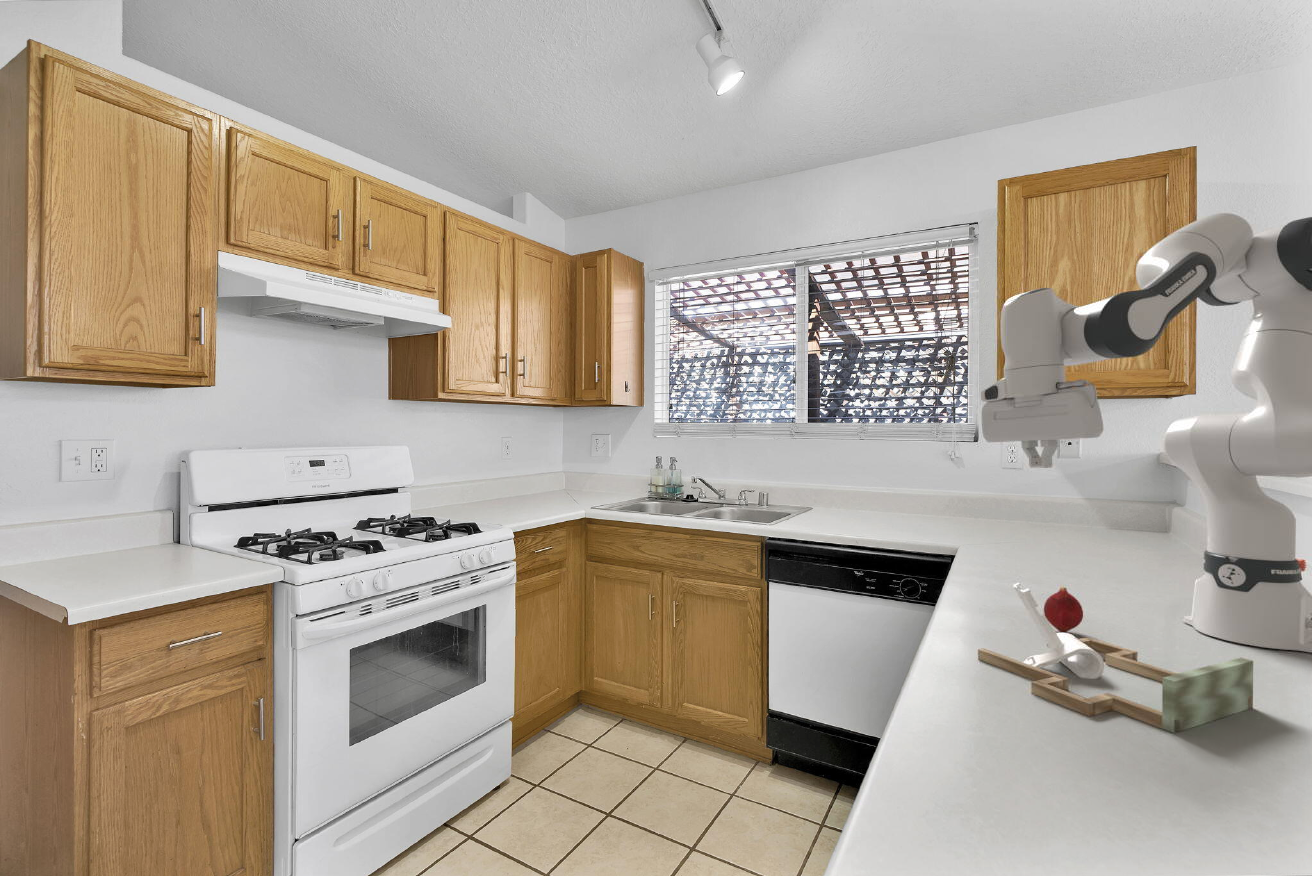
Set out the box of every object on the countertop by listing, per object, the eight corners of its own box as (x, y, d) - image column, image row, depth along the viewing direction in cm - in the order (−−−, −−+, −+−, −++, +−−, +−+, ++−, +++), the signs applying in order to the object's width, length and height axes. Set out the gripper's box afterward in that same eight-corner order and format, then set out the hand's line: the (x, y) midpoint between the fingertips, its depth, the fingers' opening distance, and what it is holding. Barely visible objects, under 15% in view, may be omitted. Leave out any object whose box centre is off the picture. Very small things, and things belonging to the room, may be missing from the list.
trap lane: (1069, 641, 104) (1070, 605, 104) (1271, 701, 80) (1271, 655, 80) (956, 663, 93) (956, 623, 93) (1150, 740, 70) (1151, 687, 70)
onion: (1089, 639, 105) (1089, 592, 105) (1052, 636, 106) (1052, 590, 106) (1073, 628, 111) (1074, 584, 111) (1038, 626, 112) (1038, 582, 112)
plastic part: (1103, 680, 87) (1105, 598, 87) (1026, 673, 90) (1027, 593, 90) (1080, 661, 95) (1082, 586, 95) (1009, 655, 97) (1010, 581, 97)
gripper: (1109, 377, 95) (1116, 466, 95) (1000, 392, 115) (1005, 466, 114) (1079, 378, 93) (1086, 469, 93) (973, 393, 113) (978, 468, 113)
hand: (1041, 467), depth 104 cm, fingers closed
